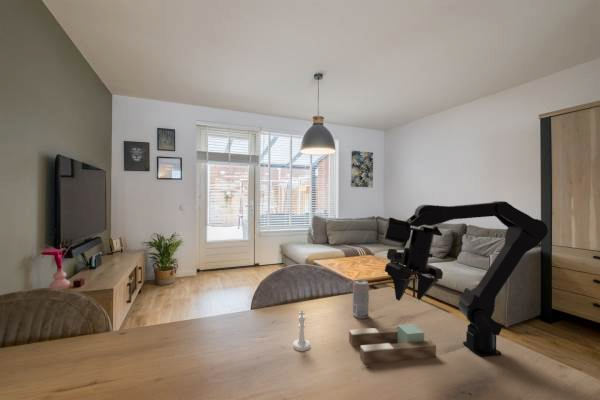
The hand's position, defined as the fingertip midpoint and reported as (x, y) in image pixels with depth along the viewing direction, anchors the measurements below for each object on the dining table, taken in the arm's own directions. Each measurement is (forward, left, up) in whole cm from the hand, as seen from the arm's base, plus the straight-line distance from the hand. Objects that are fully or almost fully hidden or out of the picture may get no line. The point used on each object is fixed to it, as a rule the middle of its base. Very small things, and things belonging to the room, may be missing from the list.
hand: (408, 299), depth 78 cm
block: (+1, +3, -12) cm, 12 cm away
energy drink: (+7, -18, -12) cm, 23 cm away
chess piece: (+31, -2, -12) cm, 34 cm away
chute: (+7, +3, -12) cm, 14 cm away
